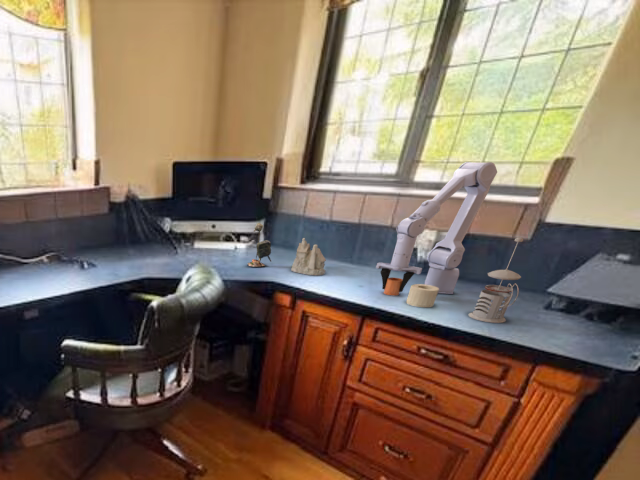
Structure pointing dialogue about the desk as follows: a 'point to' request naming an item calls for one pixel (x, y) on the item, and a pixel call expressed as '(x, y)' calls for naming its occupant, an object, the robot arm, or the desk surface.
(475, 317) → the french press
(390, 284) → the cup
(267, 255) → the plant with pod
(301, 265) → the ceramic cottage
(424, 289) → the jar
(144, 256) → the desk surface
